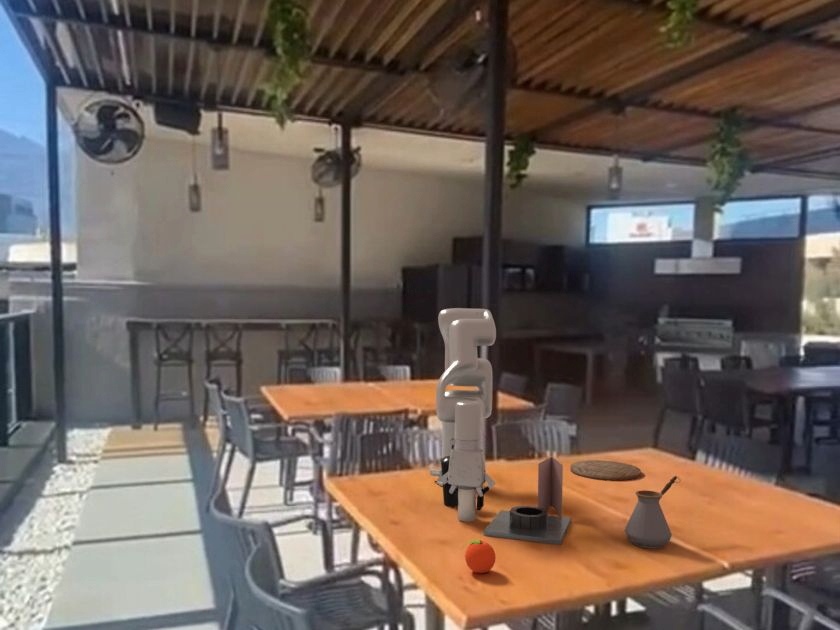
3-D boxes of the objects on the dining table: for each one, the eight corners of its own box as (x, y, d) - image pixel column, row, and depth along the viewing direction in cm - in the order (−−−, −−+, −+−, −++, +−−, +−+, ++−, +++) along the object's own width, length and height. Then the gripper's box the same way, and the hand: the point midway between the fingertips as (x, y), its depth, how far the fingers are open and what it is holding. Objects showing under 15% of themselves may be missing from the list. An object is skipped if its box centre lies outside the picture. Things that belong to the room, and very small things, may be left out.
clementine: (456, 574, 157) (456, 543, 157) (465, 564, 164) (465, 533, 164) (490, 580, 154) (491, 547, 154) (498, 569, 161) (499, 538, 161)
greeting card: (548, 505, 213) (549, 456, 213) (572, 509, 209) (572, 459, 209) (534, 514, 203) (535, 463, 203) (559, 519, 199) (560, 466, 199)
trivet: (629, 485, 239) (629, 480, 239) (560, 474, 253) (560, 469, 253) (649, 471, 260) (649, 466, 260) (584, 462, 274) (584, 457, 274)
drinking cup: (468, 502, 214) (469, 437, 214) (459, 509, 207) (460, 442, 207) (445, 499, 217) (446, 435, 217) (435, 506, 210) (436, 439, 210)
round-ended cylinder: (455, 520, 197) (455, 484, 197) (460, 515, 202) (460, 480, 201) (473, 522, 195) (473, 486, 195) (478, 517, 200) (478, 482, 200)
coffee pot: (657, 554, 172) (658, 493, 171) (615, 542, 180) (616, 484, 180) (696, 535, 186) (698, 479, 186) (656, 525, 195) (657, 471, 194)
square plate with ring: (483, 535, 184) (483, 517, 184) (500, 514, 203) (501, 497, 203) (560, 544, 178) (560, 526, 178) (570, 522, 196) (571, 505, 196)
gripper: (434, 444, 197) (433, 508, 198) (494, 450, 192) (493, 515, 192) (442, 440, 204) (441, 501, 205) (500, 444, 199) (499, 507, 199)
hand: (466, 507), depth 198 cm, fingers open, 6 cm apart
